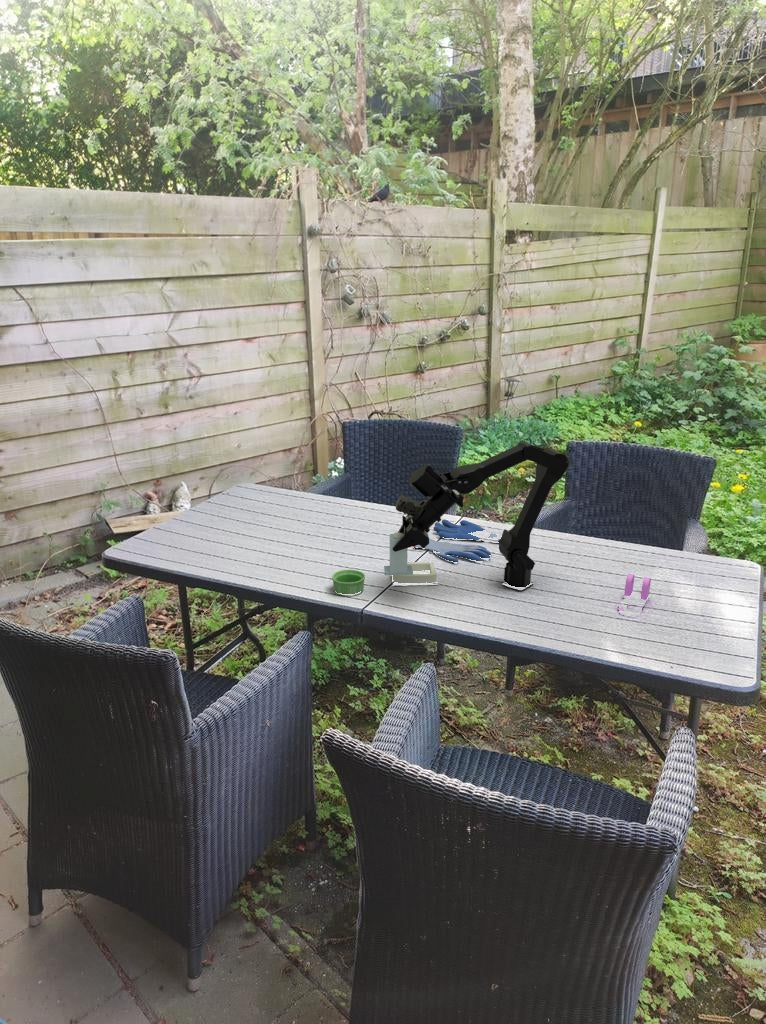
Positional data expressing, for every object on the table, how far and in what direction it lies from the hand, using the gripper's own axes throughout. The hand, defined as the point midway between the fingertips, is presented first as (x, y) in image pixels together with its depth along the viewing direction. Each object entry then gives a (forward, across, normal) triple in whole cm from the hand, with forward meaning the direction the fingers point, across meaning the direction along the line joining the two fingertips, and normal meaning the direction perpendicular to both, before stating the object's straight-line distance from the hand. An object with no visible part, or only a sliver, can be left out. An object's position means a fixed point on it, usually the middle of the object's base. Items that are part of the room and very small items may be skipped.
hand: (393, 547), depth 187 cm
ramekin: (+18, -2, +1) cm, 18 cm away
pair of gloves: (-6, -35, +26) cm, 44 cm away
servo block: (+4, 0, +6) cm, 7 cm away
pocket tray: (+5, -9, +14) cm, 17 cm away
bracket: (-34, +10, +53) cm, 64 cm away
